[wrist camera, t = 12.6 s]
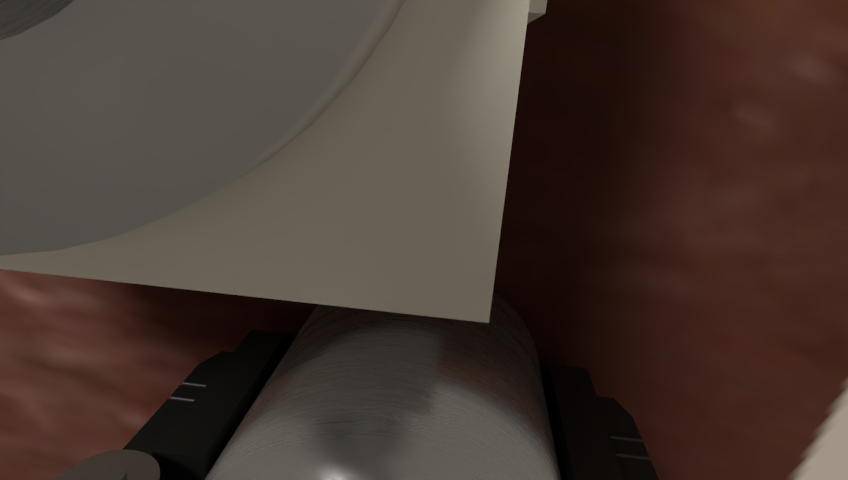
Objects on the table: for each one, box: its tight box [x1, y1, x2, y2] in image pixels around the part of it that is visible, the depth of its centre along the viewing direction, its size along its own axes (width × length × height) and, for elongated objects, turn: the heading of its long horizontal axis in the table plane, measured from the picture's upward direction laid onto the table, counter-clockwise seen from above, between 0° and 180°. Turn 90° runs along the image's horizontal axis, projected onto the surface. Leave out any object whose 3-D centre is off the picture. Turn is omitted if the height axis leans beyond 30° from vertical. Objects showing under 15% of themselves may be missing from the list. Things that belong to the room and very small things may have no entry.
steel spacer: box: [204, 290, 562, 480], centre depth 9 cm, size 5×5×5 cm
